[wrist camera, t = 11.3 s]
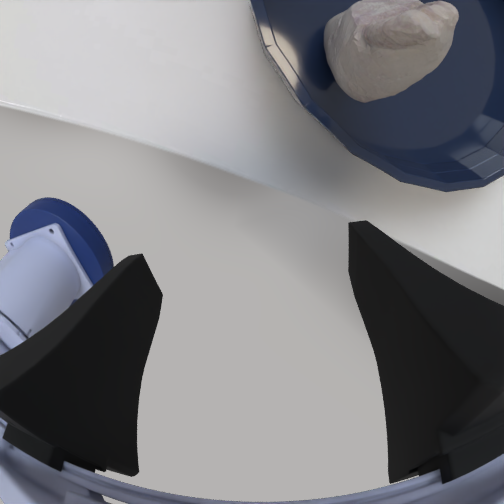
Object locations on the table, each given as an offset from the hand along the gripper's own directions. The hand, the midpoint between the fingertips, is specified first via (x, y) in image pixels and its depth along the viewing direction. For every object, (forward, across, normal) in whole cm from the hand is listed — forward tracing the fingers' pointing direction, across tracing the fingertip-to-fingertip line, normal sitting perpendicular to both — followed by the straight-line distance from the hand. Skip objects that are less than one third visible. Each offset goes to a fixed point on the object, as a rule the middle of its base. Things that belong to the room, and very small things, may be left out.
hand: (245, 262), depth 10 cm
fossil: (+10, -7, -7) cm, 14 cm away
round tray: (+10, -13, -10) cm, 19 cm away
